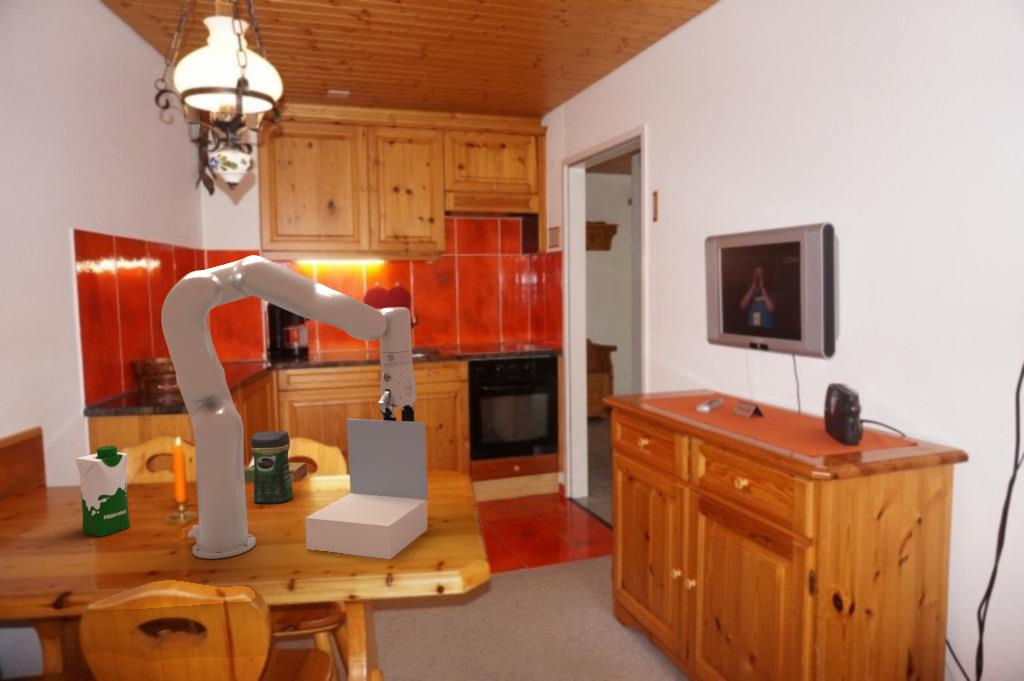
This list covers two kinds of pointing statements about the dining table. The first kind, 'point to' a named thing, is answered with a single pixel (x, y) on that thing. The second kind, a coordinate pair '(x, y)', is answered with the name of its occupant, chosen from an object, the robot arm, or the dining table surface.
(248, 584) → the dining table surface
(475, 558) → the dining table surface
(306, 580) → the dining table surface
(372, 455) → the lid flap
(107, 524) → the milk carton
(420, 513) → the box body
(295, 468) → the carton
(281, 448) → the coffee jar
